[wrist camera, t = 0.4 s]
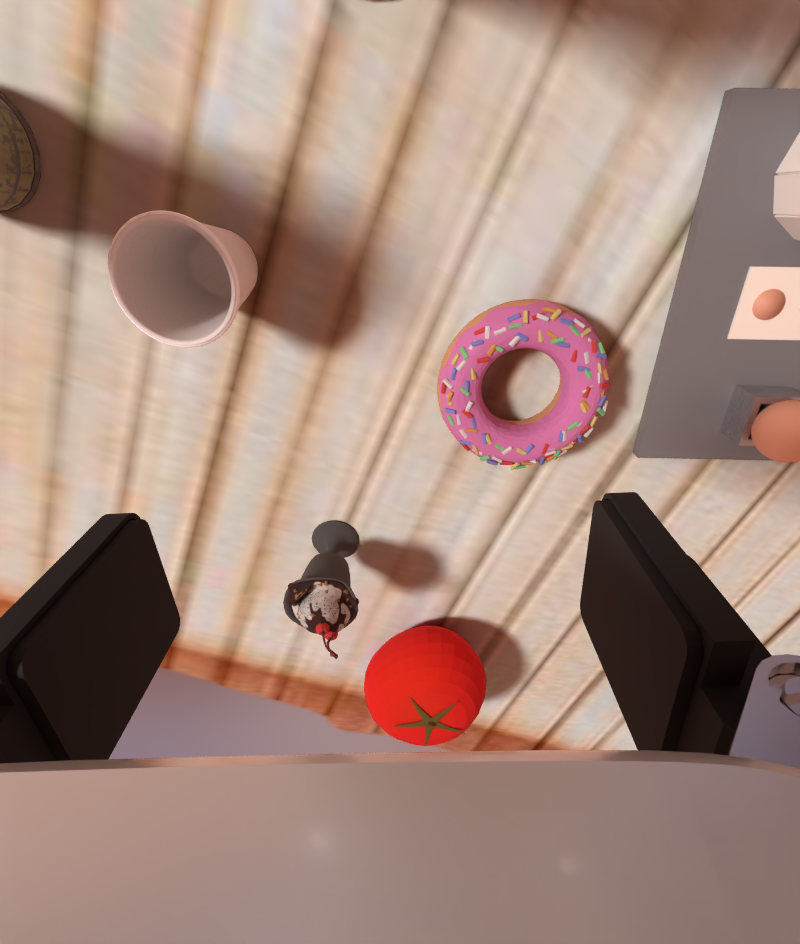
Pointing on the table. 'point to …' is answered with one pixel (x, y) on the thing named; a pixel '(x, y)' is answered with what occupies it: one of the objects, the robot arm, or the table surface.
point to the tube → (788, 191)
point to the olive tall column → (16, 158)
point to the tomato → (425, 685)
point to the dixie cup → (180, 277)
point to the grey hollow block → (751, 409)
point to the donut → (561, 419)
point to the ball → (778, 431)
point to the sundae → (325, 584)
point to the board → (729, 288)
